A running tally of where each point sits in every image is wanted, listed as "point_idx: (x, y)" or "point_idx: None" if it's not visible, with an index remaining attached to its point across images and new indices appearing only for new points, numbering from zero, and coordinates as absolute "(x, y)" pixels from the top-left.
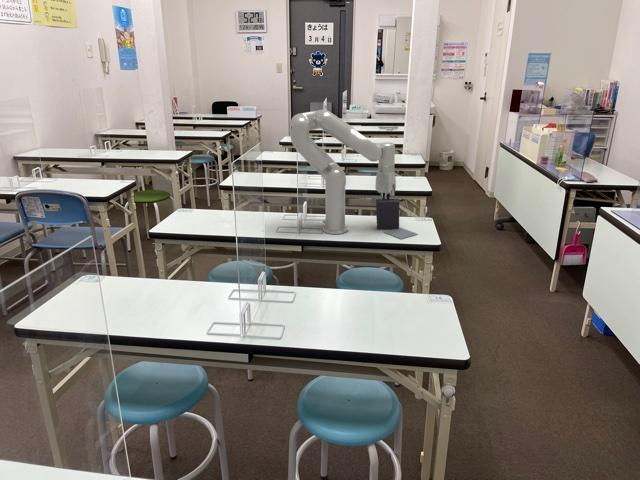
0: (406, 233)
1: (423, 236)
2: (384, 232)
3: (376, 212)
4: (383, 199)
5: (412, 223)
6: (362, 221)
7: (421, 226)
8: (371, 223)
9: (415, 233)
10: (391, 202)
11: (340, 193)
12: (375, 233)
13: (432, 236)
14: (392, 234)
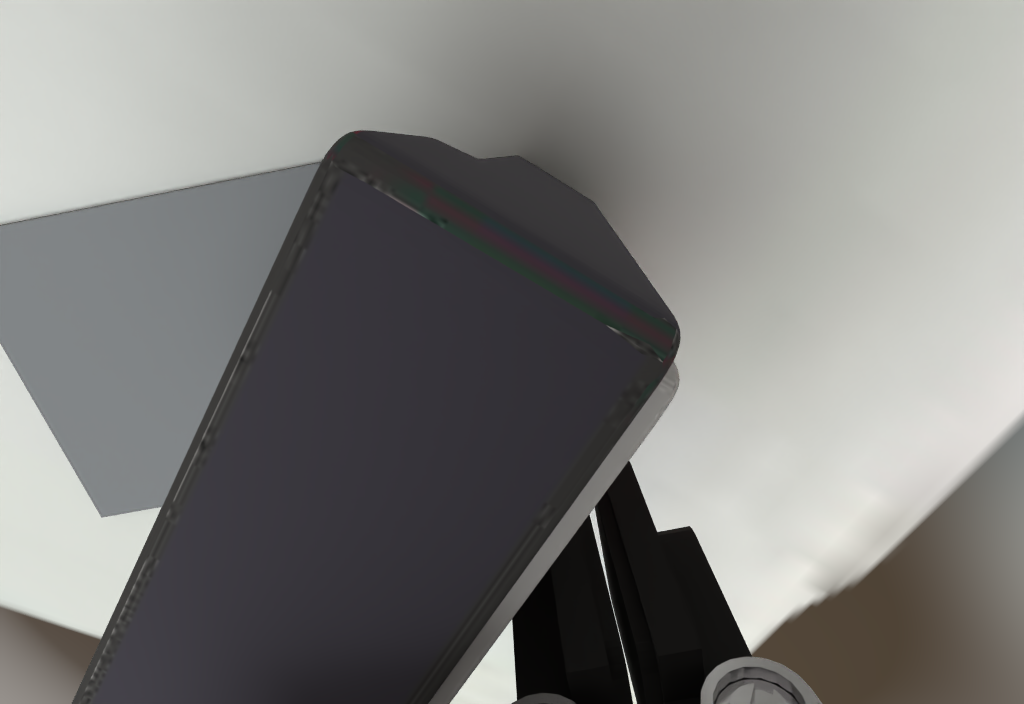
0: (155, 414)
1: (30, 530)
2: (302, 167)
3: (485, 160)
4: (447, 598)
5: (502, 637)
6: (965, 153)
7: None
8: (796, 230)
9: (125, 502)
10: (93, 676)
11: None
12: (348, 19)
13: (10, 602)
14: (169, 227)
